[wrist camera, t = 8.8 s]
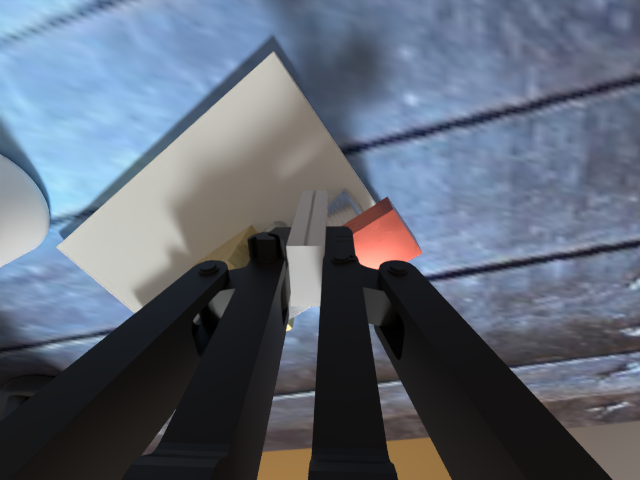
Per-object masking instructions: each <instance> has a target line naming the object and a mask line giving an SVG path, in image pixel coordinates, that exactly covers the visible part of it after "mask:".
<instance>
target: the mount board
mask: <svg viewBox="0 0 640 480" xmlns="http://www.w3.org/2000/svg"><path fill="white" fill-rule="evenodd" d="M343 188H347V189H348V190H349V191H350V192H351V193H352V194H353V195H354V197H355V198H356V199H357V201H358V202H359V203H360V205H361V206H362V208H363V210H364V211H366V210H367V209H369V208H370V207H372V206H374V205H375V204H376V202H375V201H374V199H373V198H372V196H371V195H370V193H369V192H368V190H367V189H366V187H365V186H364V184H363V183H362V181H361V180H360V178H359V177H358V175H357V174H356V172H355V171H354V169H353V168H352V166H351V165H350V163H349V162H348V160H347V159H346V157H345V156H344V154H343V153H342V151H341V150H340V148H339V147H338V145H337V144H336V142H335V141H334V139H333V138H332V136H331V135H330V133H329V132H328V130H327V129H326V127H325V126H324V124H323V123H322V121H321V120H320V118H319V117H318V115H317V114H316V112H315V111H314V109H313V108H312V106H311V105H310V103H309V102H308V100H307V99H306V97H305V96H304V94H303V93H302V91H301V90H300V88H299V87H298V85H297V84H296V82H295V81H294V79H293V78H292V76H291V75H290V73H289V72H288V70H287V69H286V67H285V66H284V64H283V63H282V61H281V60H280V58H279V57H278V55H277V54H276V53H275V52H272V53H271V54H270V55H269V56H268V57H267V58H266V59H264V60H263V61H262V62H261V63H260V64H259V65H258V66H257V67H256V68H254V69H253V70H252V71H251V72H250V73H249V74H248V75H247V76H246V77H244V78H243V79H242V80H241V81H240V82H239V83H238V84H237V85H236V86H234V87H233V88H232V89H231V90H230V91H229V92H228V93H227V94H226V95H225V96H223V97H222V98H221V99H220V100H219V101H218V102H217V103H216V104H215V105H213V106H212V107H211V108H210V109H209V110H208V111H207V112H206V113H205V114H203V115H202V116H201V117H200V118H199V119H198V120H197V121H196V122H195V123H193V124H192V125H191V126H190V127H189V128H188V129H187V130H186V131H185V132H183V133H182V134H181V135H180V136H179V137H178V138H177V139H176V140H175V141H174V142H172V143H171V144H170V145H169V146H168V147H167V148H166V149H165V150H164V151H162V152H161V153H160V154H159V155H158V156H157V157H156V158H155V159H154V160H152V161H151V162H150V163H149V164H148V165H147V166H146V167H145V168H144V169H142V170H141V171H140V172H139V173H138V174H137V175H136V176H135V177H134V178H132V179H131V180H130V181H129V182H128V183H127V184H126V185H125V186H124V187H123V188H121V189H120V190H119V191H118V192H117V193H116V194H115V195H114V196H113V197H111V198H110V199H109V200H108V201H107V202H106V203H105V204H104V205H103V206H101V207H100V208H99V209H98V210H97V211H96V212H95V213H94V214H93V215H91V216H90V217H89V218H88V219H87V220H86V221H85V222H84V223H83V224H81V225H80V226H79V227H78V228H77V229H76V230H75V231H74V232H73V233H72V234H70V235H69V236H68V237H67V238H66V239H65V240H64V241H63V242H62V243H60V244H59V245H58V246H57V247H56V248H57V249H59V250H60V251H61V252H62V253H63V254H65V255H66V256H67V257H68V258H69V259H71V260H72V261H73V262H74V263H75V264H77V265H78V266H79V267H80V268H81V269H82V270H84V271H85V272H86V273H87V274H88V275H90V276H91V277H92V278H93V279H94V280H96V281H97V282H98V283H99V284H100V285H102V286H103V287H104V288H105V289H106V290H108V291H109V292H110V293H111V294H112V295H113V296H115V297H116V298H117V299H118V300H119V301H121V302H122V303H123V304H124V305H125V306H127V307H128V308H129V309H130V310H131V311H133V312H134V313H136V312H137V311H139V310H140V309H141V308H142V307H144V306H145V305H146V304H147V303H149V302H150V301H151V300H152V299H154V298H155V297H156V296H157V295H159V294H160V293H161V292H162V291H164V290H165V289H166V288H167V287H169V286H170V285H171V284H172V283H174V282H175V281H176V280H177V279H179V278H180V277H181V276H182V275H184V274H185V273H186V272H187V271H189V270H190V269H191V268H192V266H193V265H194V264H195V263H197V262H198V261H200V260H201V259H203V258H204V257H205V256H207V255H208V254H210V253H211V252H213V251H214V250H215V249H217V248H218V247H220V246H221V245H223V244H224V243H226V242H227V241H228V240H230V239H231V238H233V237H234V236H236V235H237V234H238V233H240V232H241V231H243V230H244V229H246V228H247V227H249V226H250V225H252V226H253V227H254V229H255V230H256V231H257V232H258V233H261V232H262V231H263V230H264V229H265V228H266V227H268V226H269V225H271V224H272V223H273V222H275V221H283V222H285V223H286V224H287V225H289V224H291V223H292V222H294V218H295V215H296V211H297V208H298V205H299V201H300V198H301V195H302V191H305V190H327V199H328V198H330V197H331V196H333V195H334V194H336V193H337V192H339V191H340V190H342V189H343Z"/></svg>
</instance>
